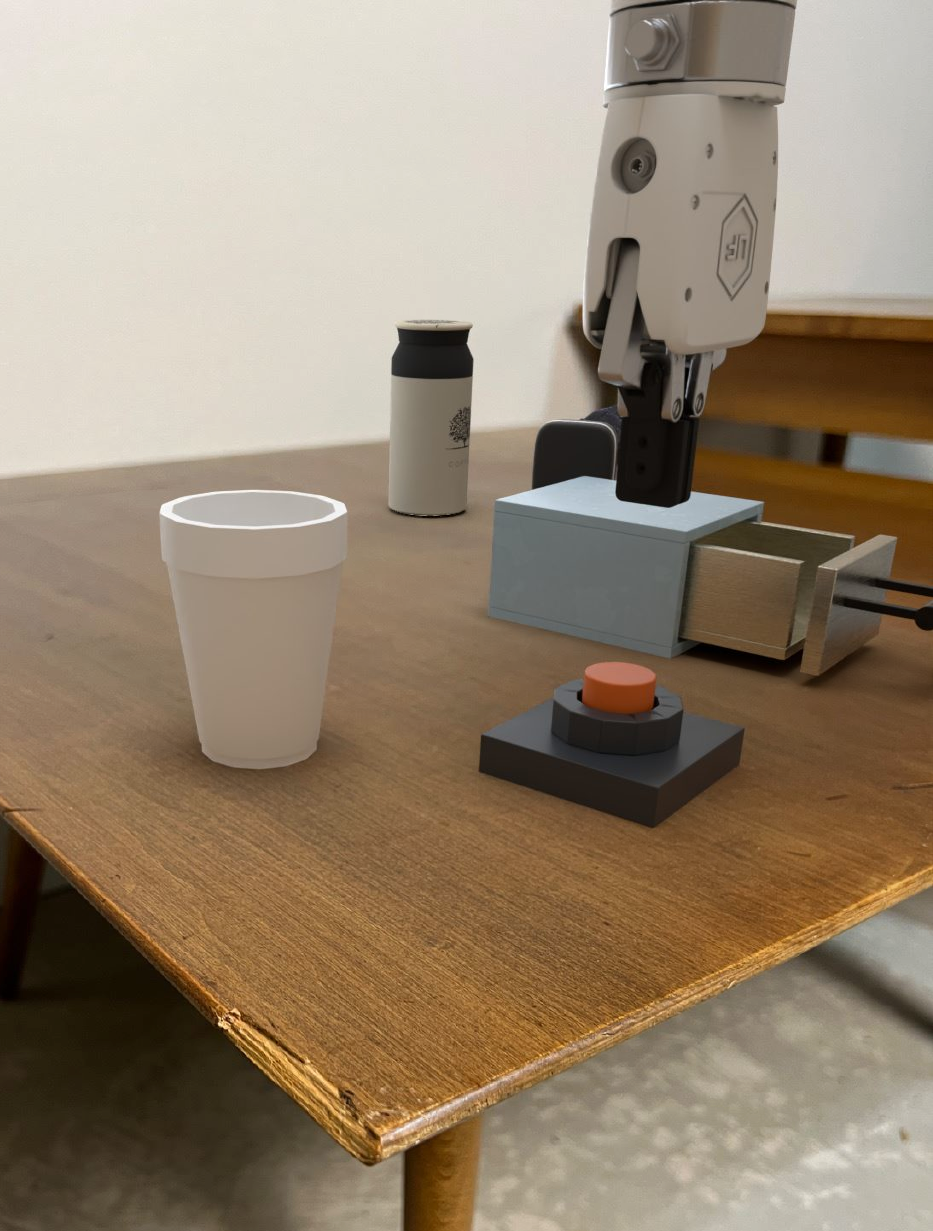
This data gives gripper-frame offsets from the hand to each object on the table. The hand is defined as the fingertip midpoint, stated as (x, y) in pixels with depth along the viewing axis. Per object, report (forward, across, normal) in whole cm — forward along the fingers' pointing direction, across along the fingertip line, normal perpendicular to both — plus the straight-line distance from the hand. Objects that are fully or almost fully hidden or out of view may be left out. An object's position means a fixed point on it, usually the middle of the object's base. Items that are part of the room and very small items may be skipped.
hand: (652, 500), depth 58 cm
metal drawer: (+13, +24, 0) cm, 27 cm away
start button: (+10, -1, 0) cm, 10 cm away
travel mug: (+14, +45, +46) cm, 66 cm away
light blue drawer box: (+14, +24, +13) cm, 31 cm away
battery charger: (+14, +39, +26) cm, 49 cm away
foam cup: (+14, -11, +16) cm, 24 cm away
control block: (+14, -1, 0) cm, 14 cm away
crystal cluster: (+15, +71, +39) cm, 82 cm away
